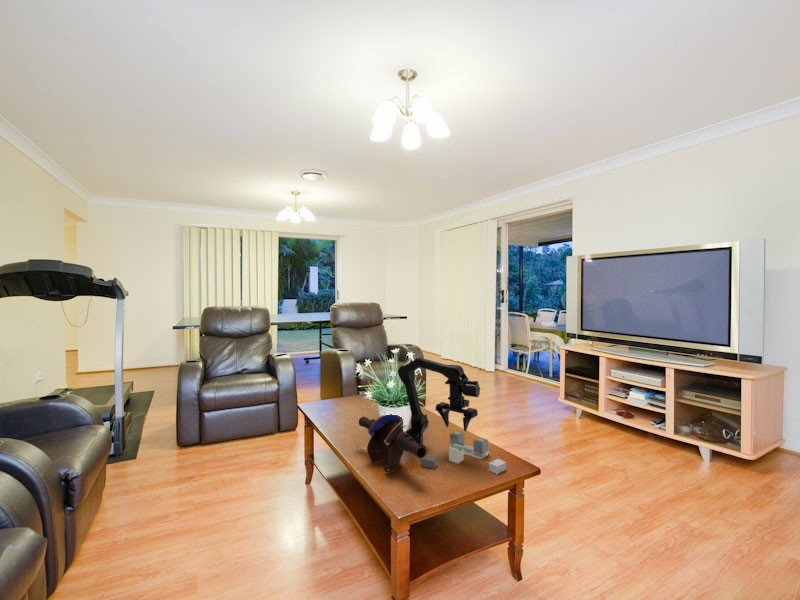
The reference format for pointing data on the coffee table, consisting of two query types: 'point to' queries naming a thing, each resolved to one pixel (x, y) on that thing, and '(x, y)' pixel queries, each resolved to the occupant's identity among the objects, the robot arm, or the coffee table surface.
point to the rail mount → (477, 451)
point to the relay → (429, 462)
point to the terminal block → (497, 466)
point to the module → (456, 453)
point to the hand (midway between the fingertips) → (456, 428)
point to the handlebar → (389, 440)
